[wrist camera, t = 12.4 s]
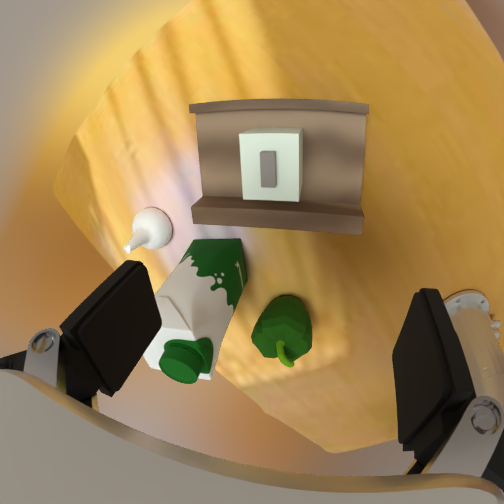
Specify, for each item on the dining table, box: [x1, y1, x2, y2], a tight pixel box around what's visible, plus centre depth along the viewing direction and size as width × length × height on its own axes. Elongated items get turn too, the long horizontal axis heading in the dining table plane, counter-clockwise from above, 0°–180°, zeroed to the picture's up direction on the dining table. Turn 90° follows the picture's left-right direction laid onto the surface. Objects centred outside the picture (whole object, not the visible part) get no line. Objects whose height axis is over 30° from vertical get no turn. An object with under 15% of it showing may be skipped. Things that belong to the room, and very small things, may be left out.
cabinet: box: [239, 127, 303, 202], centre depth 25 cm, size 5×6×7 cm
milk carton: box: [143, 239, 247, 384], centre depth 33 cm, size 9×9×20 cm
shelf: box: [189, 99, 369, 235], centre depth 29 cm, size 13×18×7 cm
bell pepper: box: [251, 296, 312, 367], centre depth 39 cm, size 8×8×10 cm
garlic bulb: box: [124, 208, 172, 253], centre depth 38 cm, size 6×6×8 cm
